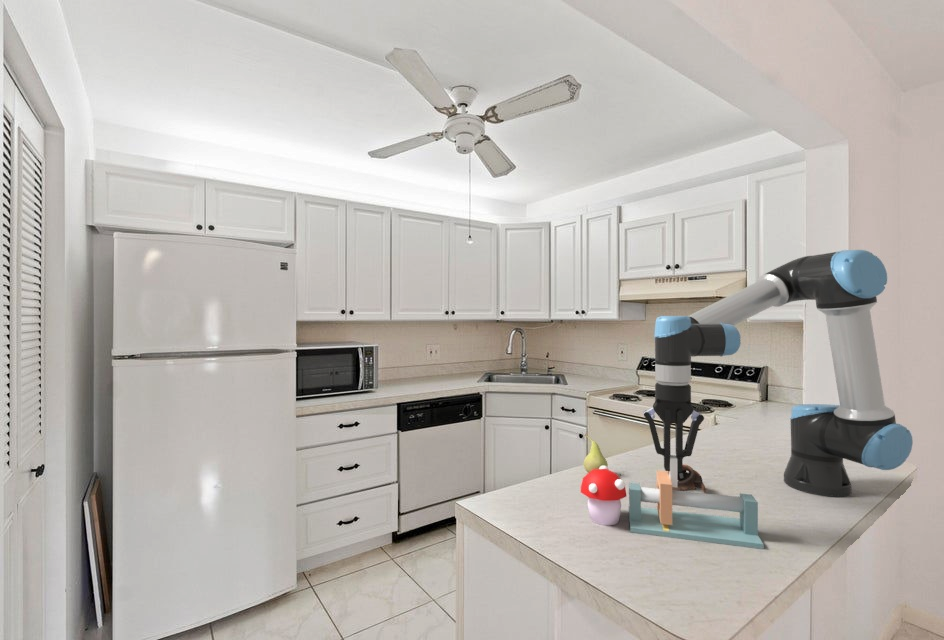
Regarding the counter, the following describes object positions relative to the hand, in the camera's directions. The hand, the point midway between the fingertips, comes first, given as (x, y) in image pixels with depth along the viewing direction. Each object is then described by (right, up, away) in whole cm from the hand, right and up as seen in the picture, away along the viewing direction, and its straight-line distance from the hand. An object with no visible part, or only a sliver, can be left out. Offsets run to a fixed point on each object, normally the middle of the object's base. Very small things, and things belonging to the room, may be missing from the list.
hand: (673, 485), depth 104 cm
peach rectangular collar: (-2, -7, +1) cm, 8 cm away
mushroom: (-15, -10, +4) cm, 18 cm away
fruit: (-9, -9, +33) cm, 36 cm away
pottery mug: (+13, -10, +21) cm, 26 cm away
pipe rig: (+3, -9, -1) cm, 10 cm away
